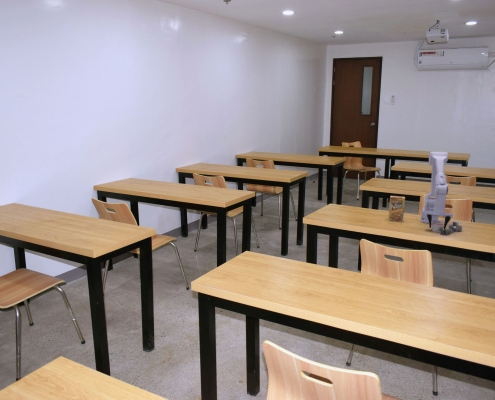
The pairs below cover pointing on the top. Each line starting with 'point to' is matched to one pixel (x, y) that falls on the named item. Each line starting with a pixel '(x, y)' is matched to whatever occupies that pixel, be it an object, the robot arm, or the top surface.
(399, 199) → the candy box
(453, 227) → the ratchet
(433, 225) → the red-striped grey block
